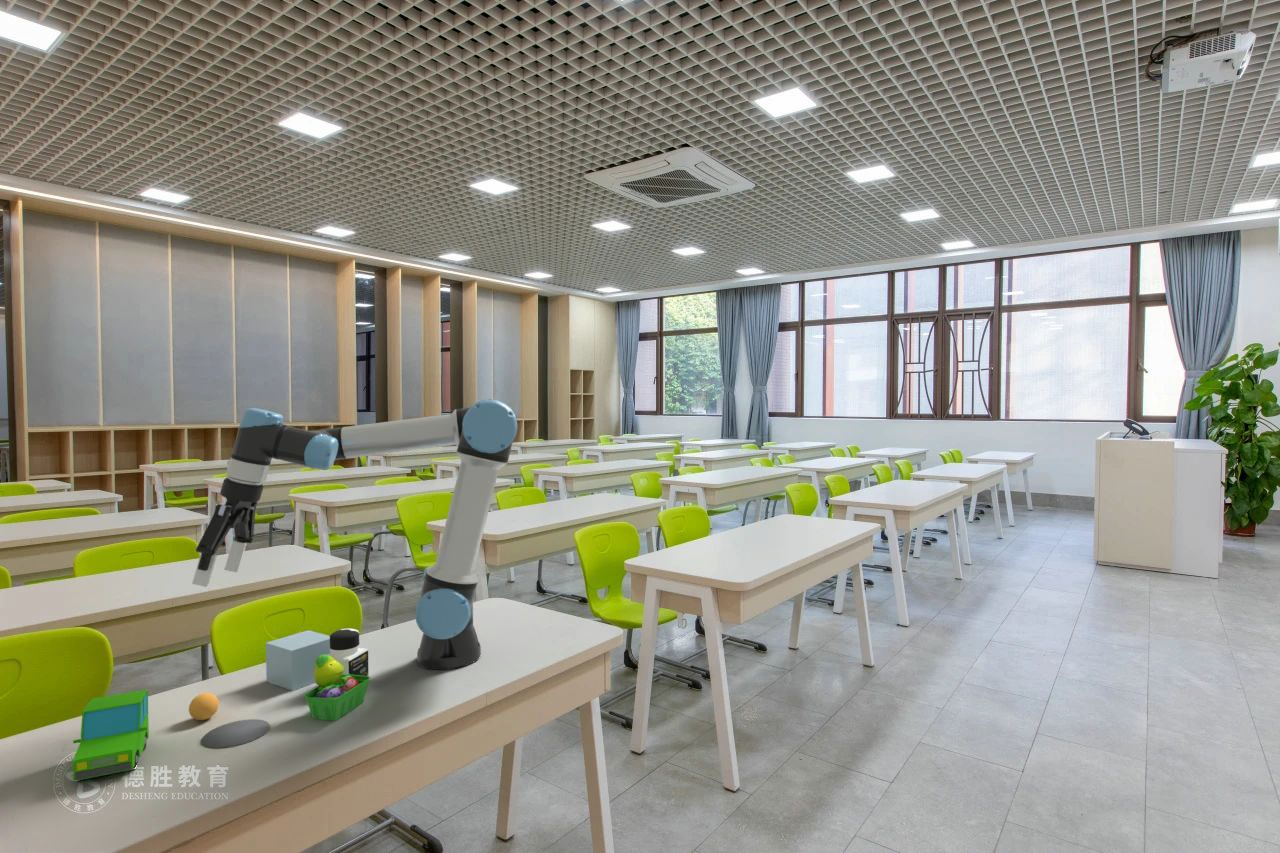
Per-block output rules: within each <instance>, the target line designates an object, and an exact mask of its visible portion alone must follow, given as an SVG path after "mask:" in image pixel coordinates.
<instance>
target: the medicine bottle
mask: <svg viewBox="0 0 1280 853" xmlns="http://www.w3.org/2000/svg"><path fill="white" fill-rule="evenodd" d="M329 636H330V652H331V653H329V654H327V655H328V656H331V657H332V658H333V659H335V660H336V661H338V662H339V663H340V664H341V665H342V666H343V669H344V671H343V674H351V675H360V676H369V671H370V670H369V649H368V648H363V647H360V632H359V630H358V629H355V628H341V629H339V630H335V631H334V632H331V633H330V635H329ZM369 677H370V676H369Z"/></svg>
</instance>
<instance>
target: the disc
mask: <svg viewBox="0 0 1280 853" xmlns="http://www.w3.org/2000/svg"><path fill="white" fill-rule="evenodd" d="M270 726H271V725H270V723H269V722H268V721H266V720H264V719H254V718H253V719H249V718H248V719H241V720H237V721H231V722H227V723H225V724H222V725H220V726H217V727H215V728H214V729H211V730H209V731H208V732H207V733H205V734H204V735H203V736H202V738H201V743H202V745H203V746H204V747H206V748H211V749H226V748H232V747H238V746H241V745H245V744H248V743H251V742H253V741H255V740H257V739H260V738H261V737H262V736H264V735H265V734H266V733H267V732H268V731H269V730H270Z"/></svg>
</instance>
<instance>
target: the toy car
mask: <svg viewBox="0 0 1280 853" xmlns="http://www.w3.org/2000/svg"><path fill="white" fill-rule="evenodd" d="M149 725H150V724H149V689H143V690H136V691H135V690H134V691H130V692H124V693H123V692H122V693H116V694H110V695H103V696H98V697H92V698H91V699H90V701H89V702H88V703H87V705H86V706H85V707H84V709H83V710H82V715H81V726H80V739H79V738H78V739H74V740H72V743H73V744H79V745H78V747H77V750H76V752H75V754H74V757H73V759H72V768H73V769H72V772H73V776H72V777H73V782H79V781H78V780H81V781H83V780H82V779H85V780H87V779H92V778H96V777H102V776H106V775H111V774H116V773H117V774H118V773H121V772H125V771H128V770H129V771H132V770H131V769H133V768H135V767H136V765H137V763H138V764H139V758H140V757H141V755H142V753H143V751H145V750H146V747H147V740H148V739H149V737H150V736H149V734H150V733H149V732H150V731H149V728H150V727H149ZM137 766H138V765H137Z"/></svg>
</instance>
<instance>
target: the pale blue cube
mask: <svg viewBox="0 0 1280 853" xmlns="http://www.w3.org/2000/svg"><path fill="white" fill-rule="evenodd" d="M329 653H331V652H330V635H327V634H325V633H320V632H317V631H316V632H315V631H313V630H310V629H308V630H305V631H301V632H297V633H294V634H290V635H288V636H285V637H281V638H278V639H274V640H271V641H268V642H265V667H266V670H265V671H266V672H265V673H266V674H265V676H266V683H267V682H268V683H270V684H273V685H276V686H279V687H281V688H285V689H287V690H290V691H291V692H293V691H296V690H298V689H301V688H304V687H306V686H310V685H312V684H316V682H315V679H314V672H315V661H316V659H317V657H319V656H320V655H324V654H326V655H327V654H329Z"/></svg>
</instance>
